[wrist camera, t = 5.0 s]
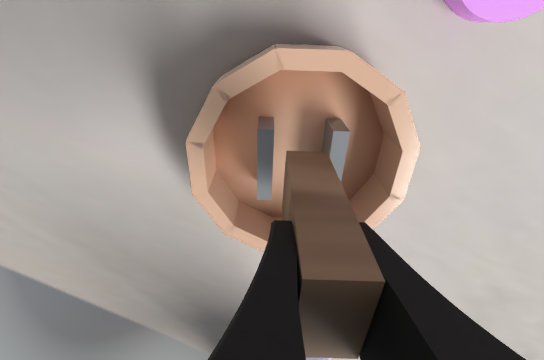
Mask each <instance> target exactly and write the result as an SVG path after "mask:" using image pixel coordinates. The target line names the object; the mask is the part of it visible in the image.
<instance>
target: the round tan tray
mask: <svg viewBox="0 0 544 360" xmlns="http://www.w3.org/2000/svg"><path fill="white" fill-rule="evenodd" d="M185 143H186V151H187V158H188V165H189V173H190V180H191V188H192V195H193V196H194V198H195V199H196V200H197V201H198V203H199V204H200V205H201V206H202V207H203V209H204V210H205V211H206V212H207V214H208V215H209V216H210V217H211V219H212V220H213V221H214V222H215V224H216V225H217V226H218V227H219V228H220V230H221V231H222V232H223V233H224V234H225V235H228V236H230V237H232V238H234V239H236V240H239V241H241V242H243V243H245V244H248V245H250V246H252V247H254V248H256V249H259V250H261V251H263V252H264V251H265V248H266V245H267V242H268V238H269V234H270V229H271V223H272V222H273V221H274V220H283V216H282V200H283V187H284V174H285V161H286V151H310V152H327V153H328V155H329V157H330V159H331V162H332V164H333V166H334V168H335V171H336V173H337V175H338V177H339V179H340V182H341V184H342V186H343V188H344V191H345V193H346V195H347V197H348V199H349V202H350V204H351V206H352V208H353V211H354V213H355V215H356V217H357V219H358V222H365V223H366V224H367V225H369V226H370V227H371V228H372V229H373V230H374V229H375V228H376V227H377V226H378V225H379V224H380V223H381V222H382V221H383V220H384V219H385V218H386V217H387V216H388V215H389V214H390V213H391V212H392V211H393V210H394V209H395V208H396V207H397V206H398V205H399V204H400V203H401V202H402V201H404V198H405V195H406V192H407V189H408V186H409V183H410V180H411V177H412V174H413V170H414V167H415V164H416V161H417V158H418V155H419V152H420V149H421V147H420V143H419V140H418V136H417V133H416V129H415V126H414V122H413V119H412V115H411V112H410V108H409V105H408V102H407V98H406V95H405V92H404V90H402V89H401V88H400V87H398V86H397V85H396V84H394V83H393V82H392V81H390V80H389V79H388V78H386V77H385V76H384V75H382V74H381V73H380V72H378V71H377V70H376V69H374V68H373V67H372V66H370V65H369V64H368V63H366V62H365V61H364V60H362V59H361V58H360V57H358V56H357V55H356V54H354V53H353V52H352V51H350V50H347V49H344V48H341V47H338V46H323V45H308V44H297V45H295V44H274V45H272V46H270V47H269V48H267V49H265V50H264V51H262V52H260V53H259V54H257V55H255V56H253V57H251V58H249V59H248V60H246V61H245V62H243V63H242V64H240V65H238V66H237V67H235V68H233V69H232V70H230V71H228V72H227V73H225V74H223V75H222V76H221V77H220V78H219V79H218V81H217V82H216V83H215V84H214V85H213V86H212V88H211V90H210V92H209V94H208V96H207V98H206V100H205V103H204V105H203V107H202V109H201V111H200V113H199V115H198V117H197V119H196V121H195V123H194V125H193V127H192V129H191V131H190V133H189V135H188V137H187V139H186V142H185Z"/></svg>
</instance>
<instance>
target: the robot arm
mask: <svg viewBox="0 0 544 360" xmlns="http://www.w3.org/2000/svg"><path fill="white" fill-rule="evenodd" d="M359 224H360V226H361V228H362V231H363V233H364V235H365V237H366V239H367V242H368V244H369V246H370V248H371V251H372V253H373V255H374V257H375V259H376V262H377V264H378V266H379V268H380V271H381V273H382V275H383V277H384V280H385V284H384V287H383V290H382V293H381V295H380V298H379V301H378V304H377V307H376V309H375V312H374V315H373V318H372V321H371V323H370V326H369V329H368V332H367V335H366V337H365V340H364V343H363V346H362V349H361V351H360V354H359V356H360V359H361V360H526V359H524V358H523V357H521V356H520V355H519V354H517V353H516V352H514V351H513V350H512V349H510V348H509V347H507V346H506V345H505V344H503V343H502V342H501V341H499V340H498V339H497V338H495V337H494V336H493V335H491V334H490V333H489V332H488V331H486V330H485V329H484V328H482V327H481V326H480V325H478V324H477V323H476V322H474V321H473V320H472V319H471V318H469V317H468V316H467V315H466V314H464V313H463V312H462V311H461V310H459V309H458V308H457V307H456V306H454V305H453V304H452V303H451V302H450V301H449V300H447V299H446V298H445V297H444V296H443V295H442V294H440V293H439V292H438V291H437V290H436V289H435V288H433V287H432V286H431V285H430V284H429V283H428V282H427V281H426V280H424V279H423V278H422V277H421V276H420V275H419V274H418V273H417V272H416V271H415V270H414V269H412V268H411V267H410V266H409V265H408V264H407V263H406V262H405V261H404V260H403V259H402V258H401V257H400V256H399V255H398V254H397V253H396V252H395V251H394V250H393V249H392V248H391V247H390V246H389V245H388V244H387V243H386V242H385V241H384V240H383V239H382V238H381V237H380V236H379V235H378V234H377V233H376V232H375V231H374V230H373V229H372V228H371V227H370V226H369V225H367V224H366V223H365V222H359ZM208 360H332V358H306V356H305V349H304V342H303V335H302V328H301V321H300V314H299V306H298V291H297V244H296V238H295V233H294V228H293V224H292V221H284V220H274V221H273V222H272V223H271V229H270V234H269V238H268V242H267V245H266V248H265V251H264V254H263V256H262V259H261V262H260V264H259V267H258V269H257V272H256V274H255V276H254V278H253V280H252V282H251V284H250V287H249V289H248V291H247V293H246V295H245V297H244V299H243V301H242V303H241V305H240V307H239V308H238V310H237V312H236V314H235V316H234V317H233V319H232V321H231V323H230V324H229V326H228V328H227V330H226V331H225V333H224V335H223V336H222V338H221V339H220V341H219V343H218V344H217V346H216V347H215V349H214V351H213V352H212V354H211V355H210V357H209V359H208Z"/></svg>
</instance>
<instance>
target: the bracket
mask: <svg viewBox="0 0 544 360" xmlns="http://www.w3.org/2000/svg"><path fill="white" fill-rule="evenodd" d="M444 1H445V2H446V4H447V5H448V7H449V8H450V9H451V10H452V11H453V12H454V13H455V14H456V15H458V16H460V17H461V18H464V19H466V20H469V21H474V22H507V21H513V20H517V19H521V18H524V17H526V16H529V15H531V14H533V13H535V12H537V11H539V10H540V9H542V8H544V0H444Z"/></svg>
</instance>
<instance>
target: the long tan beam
mask: <svg viewBox="0 0 544 360" xmlns="http://www.w3.org/2000/svg"><path fill="white" fill-rule="evenodd" d="M282 216H283V220H284V221H292V224H293V228H294V233H295V238H296V244H297V291H298V306H299V314H300V321H301V328H302V335H303V342H304V349H305V356H306V358H352V359H358V357H359V354H360V351H361V349H362V346H363V343H364V340H365V337H366V335H367V332H368V329H369V326H370V323H371V321H372V318H373V315H374V312H375V309H376V307H377V304H378V301H379V298H380V295H381V293H382V290H383V287H384V284H385V280H384V277H383V275H382V273H381V271H380V268H379V266H378V264H377V262H376V259H375V257H374V255H373V253H372V251H371V248H370V246H369V244H368V242H367V239H366V237H365V235H364V233H363V231H362V228H361V226H360V224H359V222H358V219H357V217H356V215H355V213H354V211H353V208H352V206H351V204H350V202H349V199H348V197H347V195H346V193H345V191H344V188H343V186H342V184H341V182H340V179H339V177H338V175H337V173H336V171H335V168H334V166H333V164H332V162H331V159H330V157H329V155H328V153H327V152H310V151H286V161H285V174H284V187H283V200H282Z"/></svg>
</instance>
